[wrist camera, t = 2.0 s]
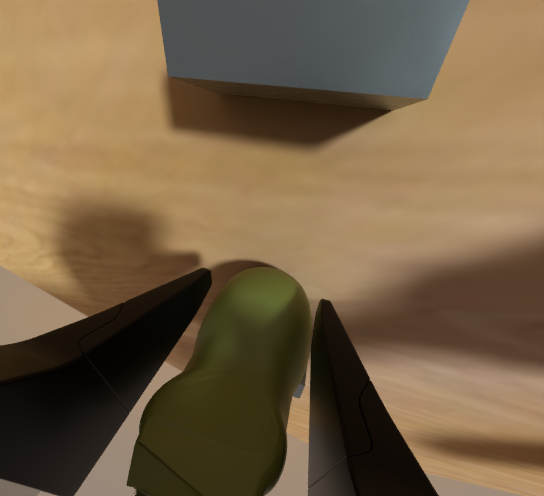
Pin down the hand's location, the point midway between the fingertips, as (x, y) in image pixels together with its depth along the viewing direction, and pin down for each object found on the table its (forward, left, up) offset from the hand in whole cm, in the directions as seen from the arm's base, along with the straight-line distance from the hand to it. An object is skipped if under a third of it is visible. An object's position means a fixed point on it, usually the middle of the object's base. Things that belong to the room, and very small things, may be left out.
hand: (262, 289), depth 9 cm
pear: (0, +2, -3) cm, 4 cm away
